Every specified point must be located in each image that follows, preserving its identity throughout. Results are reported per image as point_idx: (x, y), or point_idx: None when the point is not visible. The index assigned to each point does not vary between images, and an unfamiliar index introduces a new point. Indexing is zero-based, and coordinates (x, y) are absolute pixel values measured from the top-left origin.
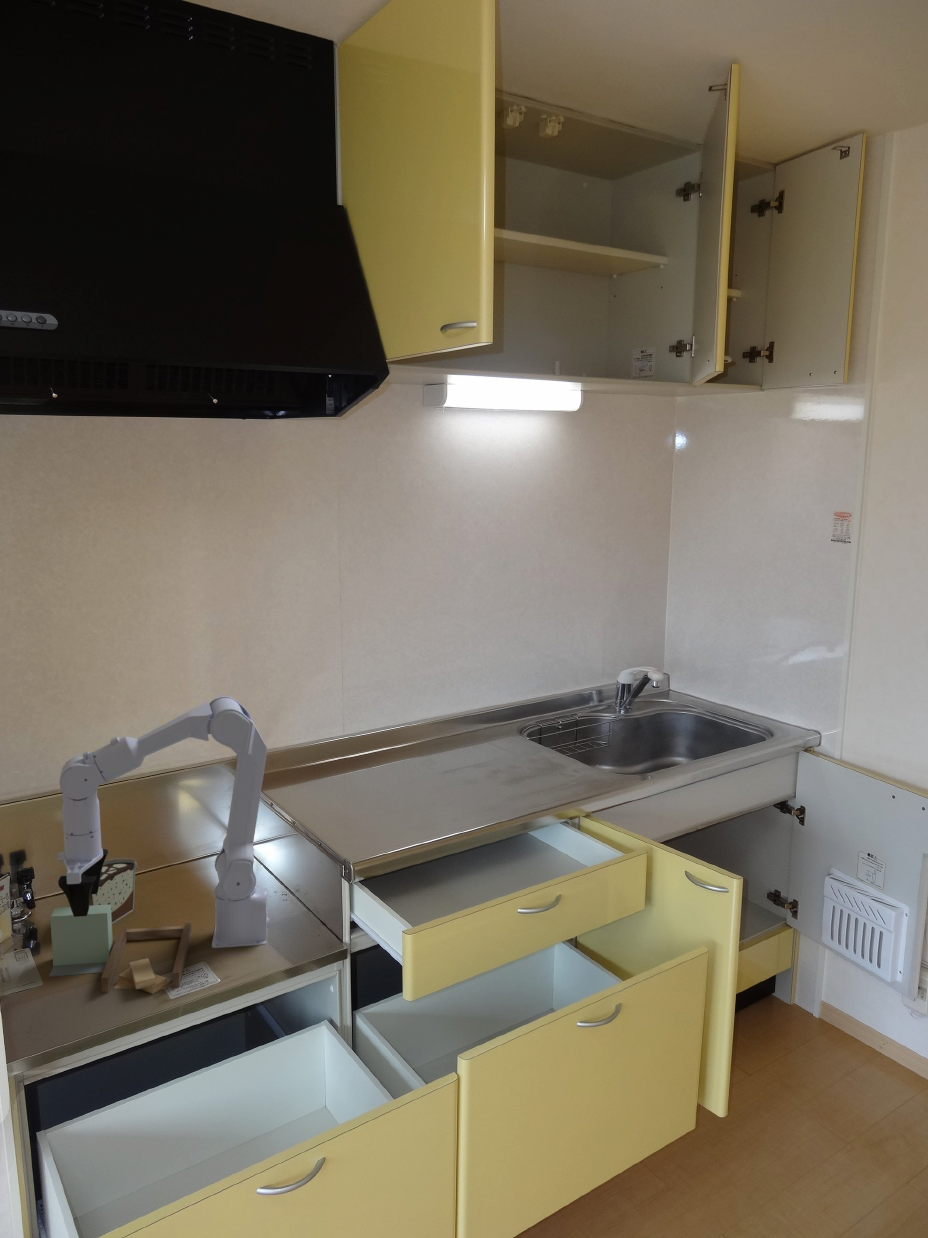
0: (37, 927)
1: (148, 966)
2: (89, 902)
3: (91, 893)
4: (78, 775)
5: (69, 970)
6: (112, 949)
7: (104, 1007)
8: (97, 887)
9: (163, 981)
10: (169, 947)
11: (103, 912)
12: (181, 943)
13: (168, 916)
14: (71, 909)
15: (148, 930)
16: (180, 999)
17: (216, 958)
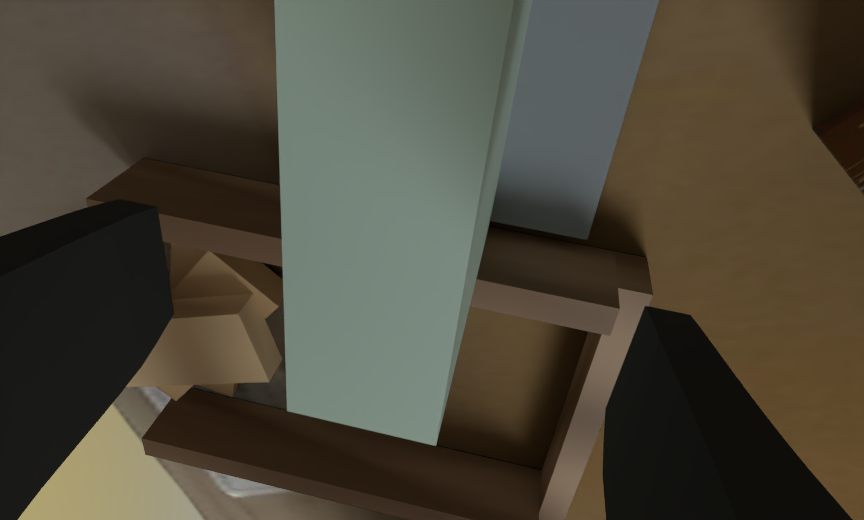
0: None
1: (200, 376)
2: (75, 431)
3: (625, 375)
4: None
5: None
6: None
7: (61, 168)
8: (608, 482)
9: (163, 387)
10: (491, 416)
11: (297, 393)
12: (359, 497)
13: (803, 454)
14: (28, 229)
15: (581, 401)
16: (129, 395)
17: (366, 514)
